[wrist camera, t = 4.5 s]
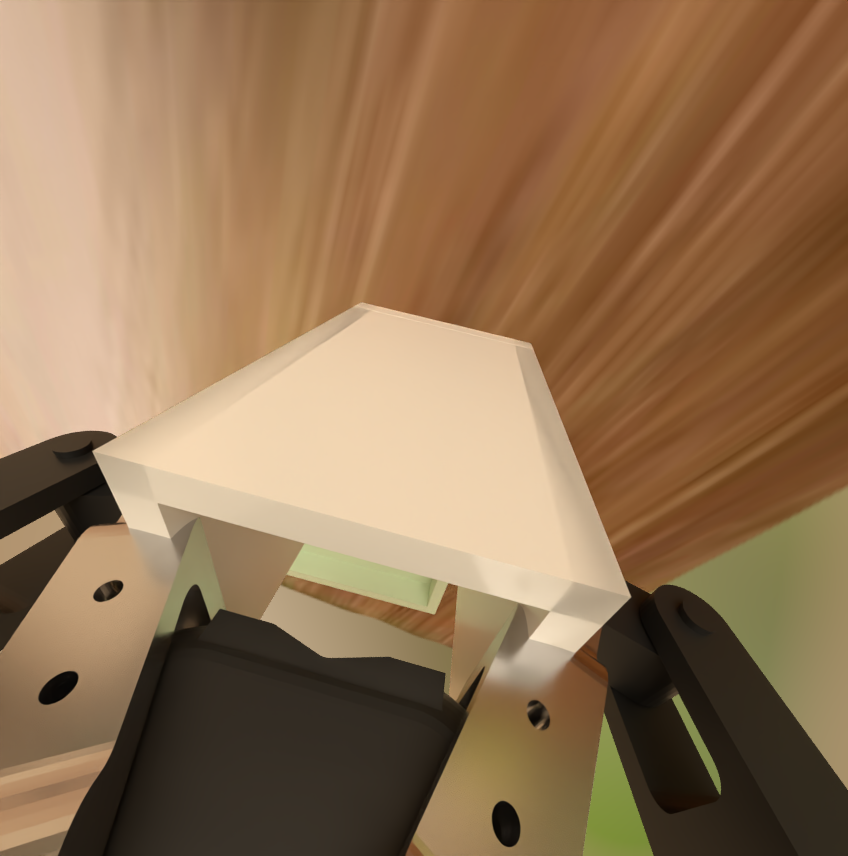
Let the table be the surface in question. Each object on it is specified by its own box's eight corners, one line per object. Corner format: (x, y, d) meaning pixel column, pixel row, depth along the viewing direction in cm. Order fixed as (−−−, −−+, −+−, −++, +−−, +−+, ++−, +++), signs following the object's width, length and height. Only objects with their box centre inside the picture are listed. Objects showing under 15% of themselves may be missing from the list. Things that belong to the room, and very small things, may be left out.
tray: (505, 418, 23) (508, 440, 21) (437, 586, 35) (434, 614, 32) (268, 357, 24) (242, 372, 21) (280, 544, 35) (264, 568, 33)
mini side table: (361, 302, 11) (92, 450, 4) (531, 343, 11) (631, 595, 3) (350, 440, 14) (196, 672, 7) (480, 474, 14) (472, 754, 7)
